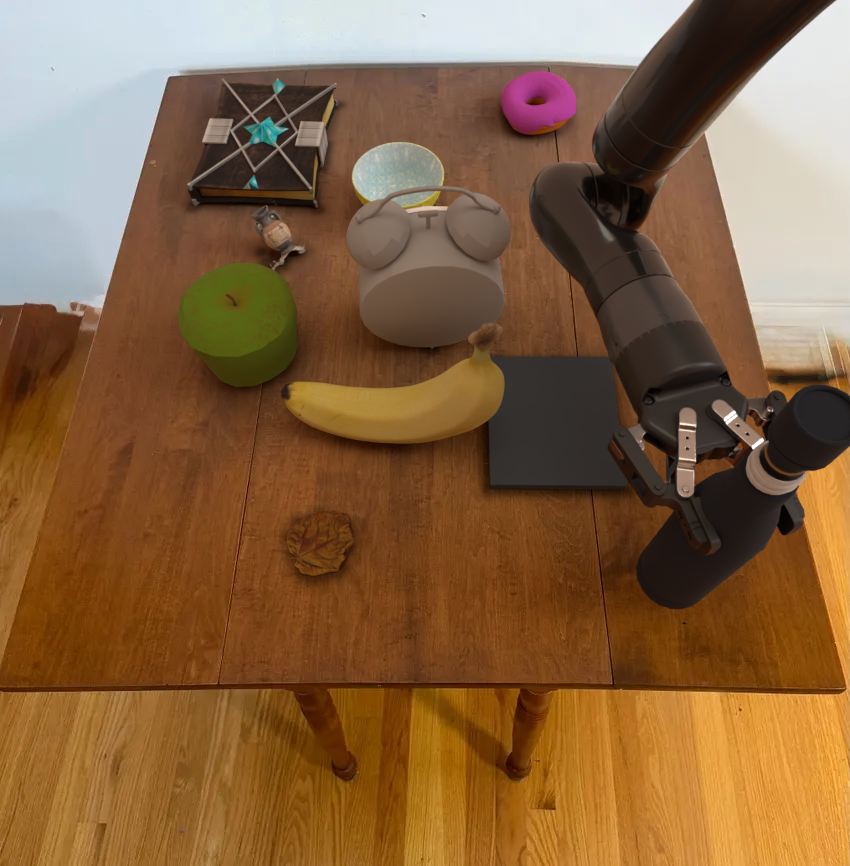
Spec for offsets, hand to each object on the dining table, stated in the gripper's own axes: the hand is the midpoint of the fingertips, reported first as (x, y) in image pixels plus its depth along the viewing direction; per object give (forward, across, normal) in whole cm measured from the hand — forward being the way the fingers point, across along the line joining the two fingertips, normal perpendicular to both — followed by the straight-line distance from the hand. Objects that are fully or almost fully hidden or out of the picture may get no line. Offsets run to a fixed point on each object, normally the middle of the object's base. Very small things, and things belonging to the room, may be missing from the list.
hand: (753, 540), depth 50 cm
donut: (-71, +10, +21) cm, 74 cm away
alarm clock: (-38, -14, +21) cm, 46 cm away
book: (-73, -28, +21) cm, 81 cm away
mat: (-23, -4, +21) cm, 31 cm away
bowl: (-58, -13, +21) cm, 63 cm away
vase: (-55, -30, +21) cm, 66 cm away
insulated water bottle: (-3, 0, +16) cm, 16 cm away
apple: (-40, -35, +21) cm, 57 cm away
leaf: (-15, -31, +21) cm, 40 cm away
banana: (-26, -21, +21) cm, 40 cm away
